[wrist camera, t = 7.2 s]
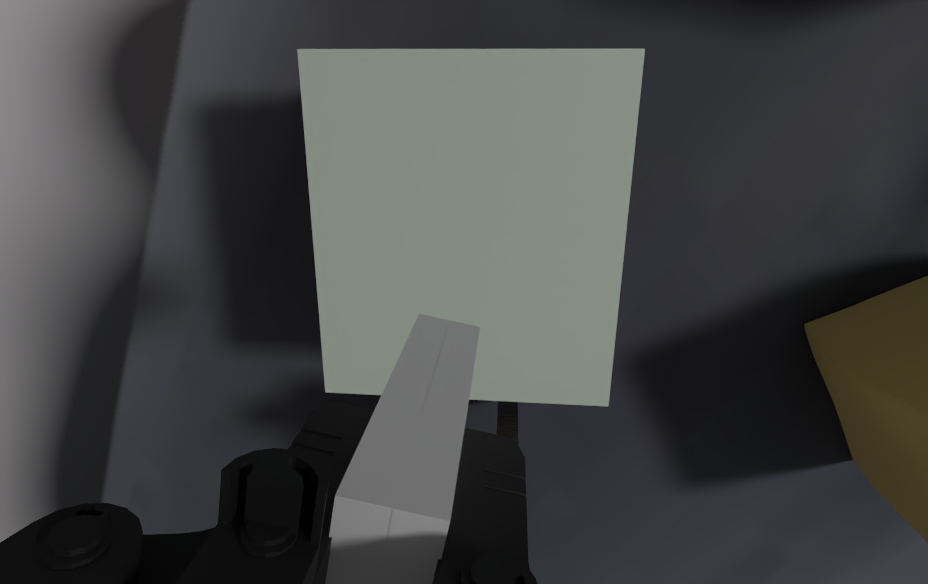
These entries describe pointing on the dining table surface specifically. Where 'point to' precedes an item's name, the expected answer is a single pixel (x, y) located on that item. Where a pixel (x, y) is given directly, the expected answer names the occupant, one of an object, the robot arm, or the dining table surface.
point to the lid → (472, 210)
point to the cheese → (882, 391)
